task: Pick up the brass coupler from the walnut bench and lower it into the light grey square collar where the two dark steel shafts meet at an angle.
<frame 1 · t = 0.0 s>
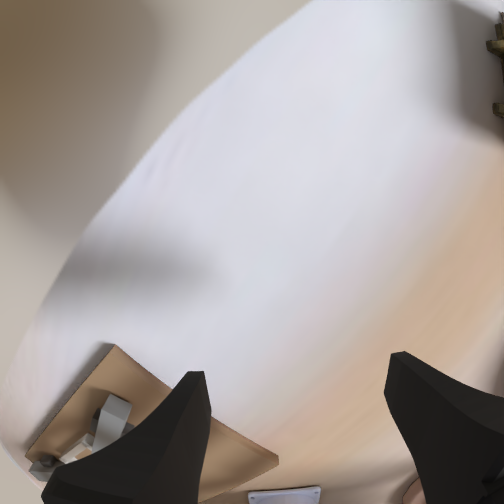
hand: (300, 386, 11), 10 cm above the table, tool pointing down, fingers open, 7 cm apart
coupling bench: (124, 464, 26), on the table
hourglass: (455, 473, 29), on the table
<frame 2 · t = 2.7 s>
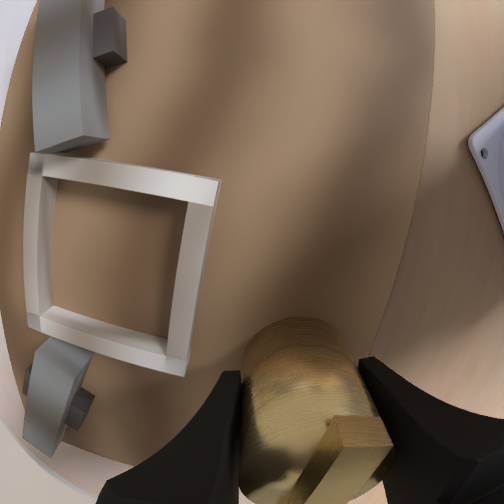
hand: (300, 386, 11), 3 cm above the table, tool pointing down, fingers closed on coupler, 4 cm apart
coupling bench: (171, 240, 12), on the table
coupler: (295, 363, 13), point 1 cm above the table, touching coupling bench, gripper
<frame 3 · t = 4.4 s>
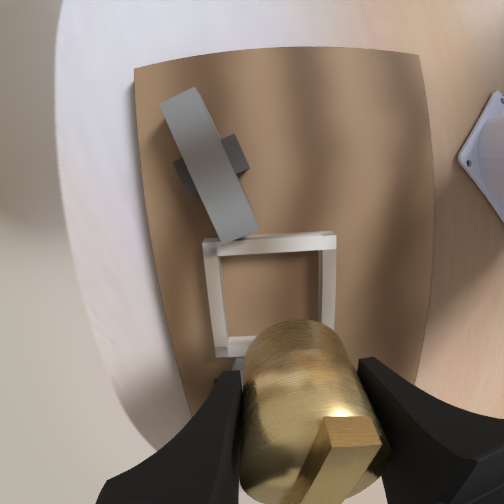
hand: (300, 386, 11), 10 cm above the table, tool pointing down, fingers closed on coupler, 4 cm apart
coupling bench: (301, 271, 20), on the table
coupler: (295, 364, 13), point 8 cm above the table, touching gripper
when the fingers open (4 cm above the table, at t = 6.1 s): coupler stays where it is, resting on coupling bench.
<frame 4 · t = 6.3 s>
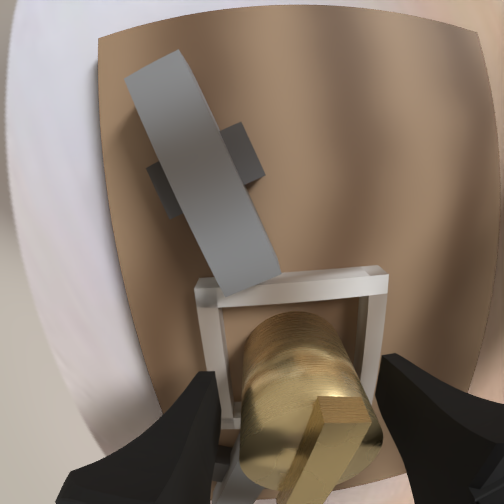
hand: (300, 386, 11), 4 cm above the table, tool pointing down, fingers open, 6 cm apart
coupling bench: (332, 316, 14), on the table
coupler: (292, 354, 14), point 1 cm above the table, touching coupling bench
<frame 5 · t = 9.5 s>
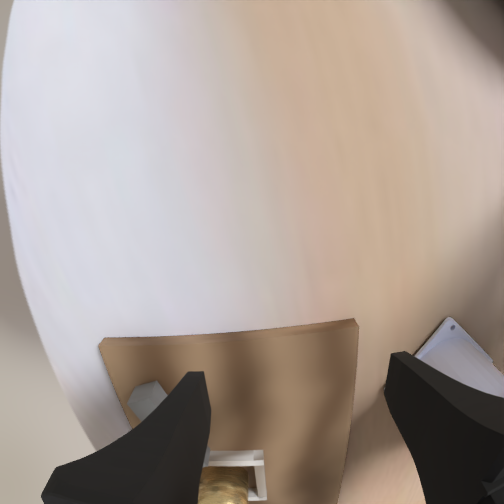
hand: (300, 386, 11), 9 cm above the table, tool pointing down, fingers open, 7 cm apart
coupling bench: (246, 458, 24), on the table
coupler: (224, 474, 24), point 1 cm above the table, touching coupling bench
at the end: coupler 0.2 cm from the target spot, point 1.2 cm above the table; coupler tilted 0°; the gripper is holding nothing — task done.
